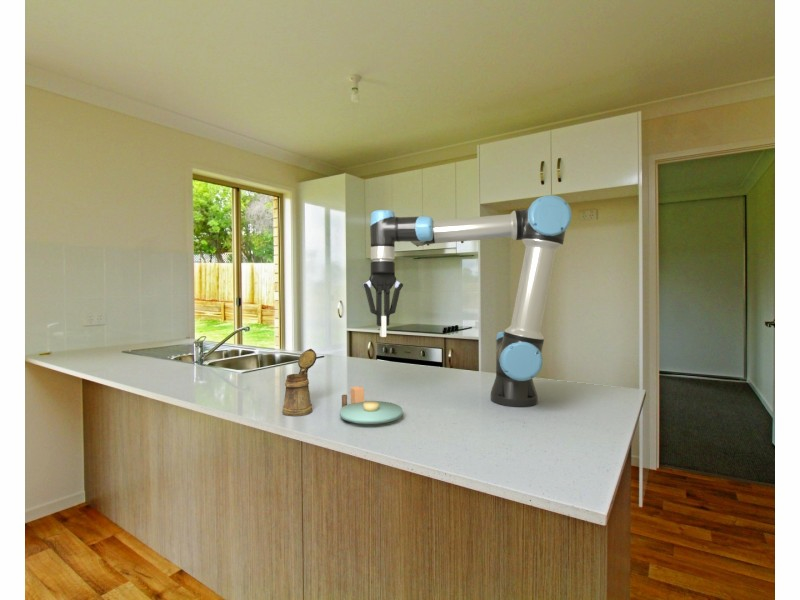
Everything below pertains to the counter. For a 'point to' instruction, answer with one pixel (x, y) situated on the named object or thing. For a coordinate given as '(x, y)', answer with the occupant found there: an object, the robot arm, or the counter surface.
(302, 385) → the wooden mug
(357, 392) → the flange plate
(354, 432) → the counter surface
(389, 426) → the counter surface
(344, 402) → the dowel
